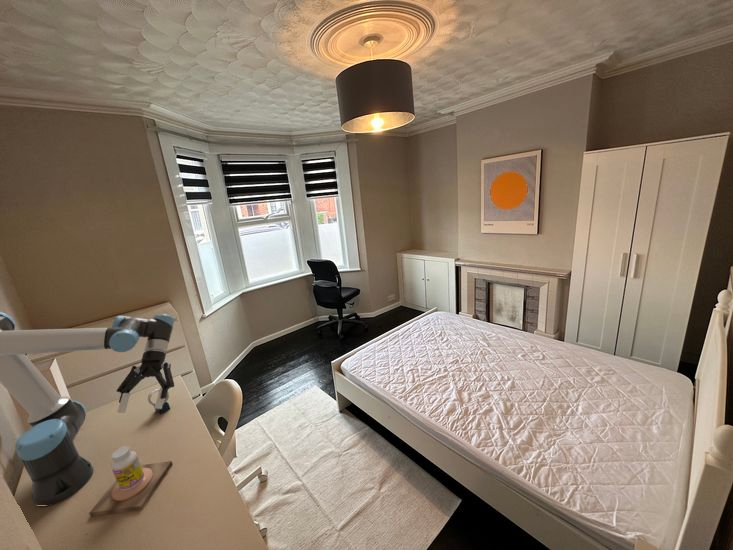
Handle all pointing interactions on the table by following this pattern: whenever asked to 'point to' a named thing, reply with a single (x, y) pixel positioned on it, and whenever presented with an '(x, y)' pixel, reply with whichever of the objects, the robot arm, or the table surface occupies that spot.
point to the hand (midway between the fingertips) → (139, 410)
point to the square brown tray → (138, 501)
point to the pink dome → (124, 495)
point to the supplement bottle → (127, 468)
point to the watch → (165, 404)
